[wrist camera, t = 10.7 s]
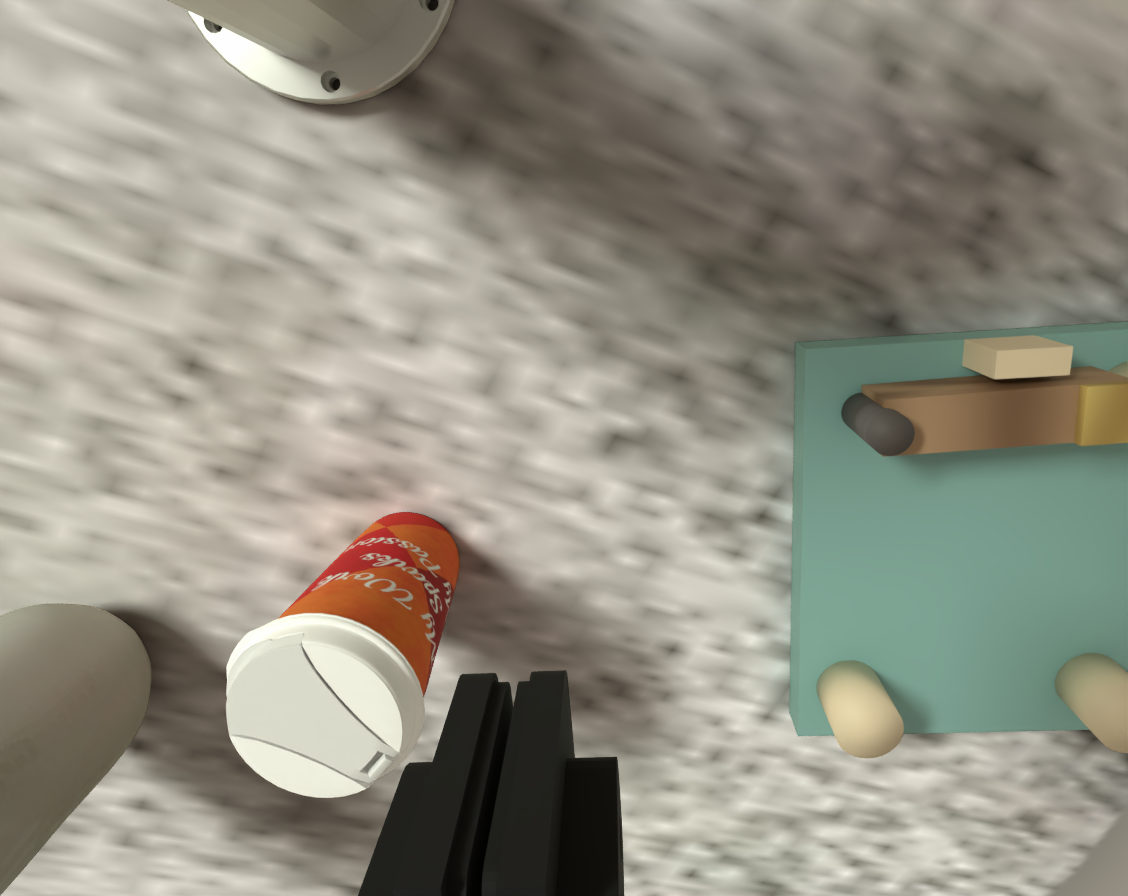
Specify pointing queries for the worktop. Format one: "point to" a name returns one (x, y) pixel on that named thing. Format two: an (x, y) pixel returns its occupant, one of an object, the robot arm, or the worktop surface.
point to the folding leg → (990, 412)
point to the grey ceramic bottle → (61, 717)
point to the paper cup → (346, 663)
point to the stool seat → (956, 556)
